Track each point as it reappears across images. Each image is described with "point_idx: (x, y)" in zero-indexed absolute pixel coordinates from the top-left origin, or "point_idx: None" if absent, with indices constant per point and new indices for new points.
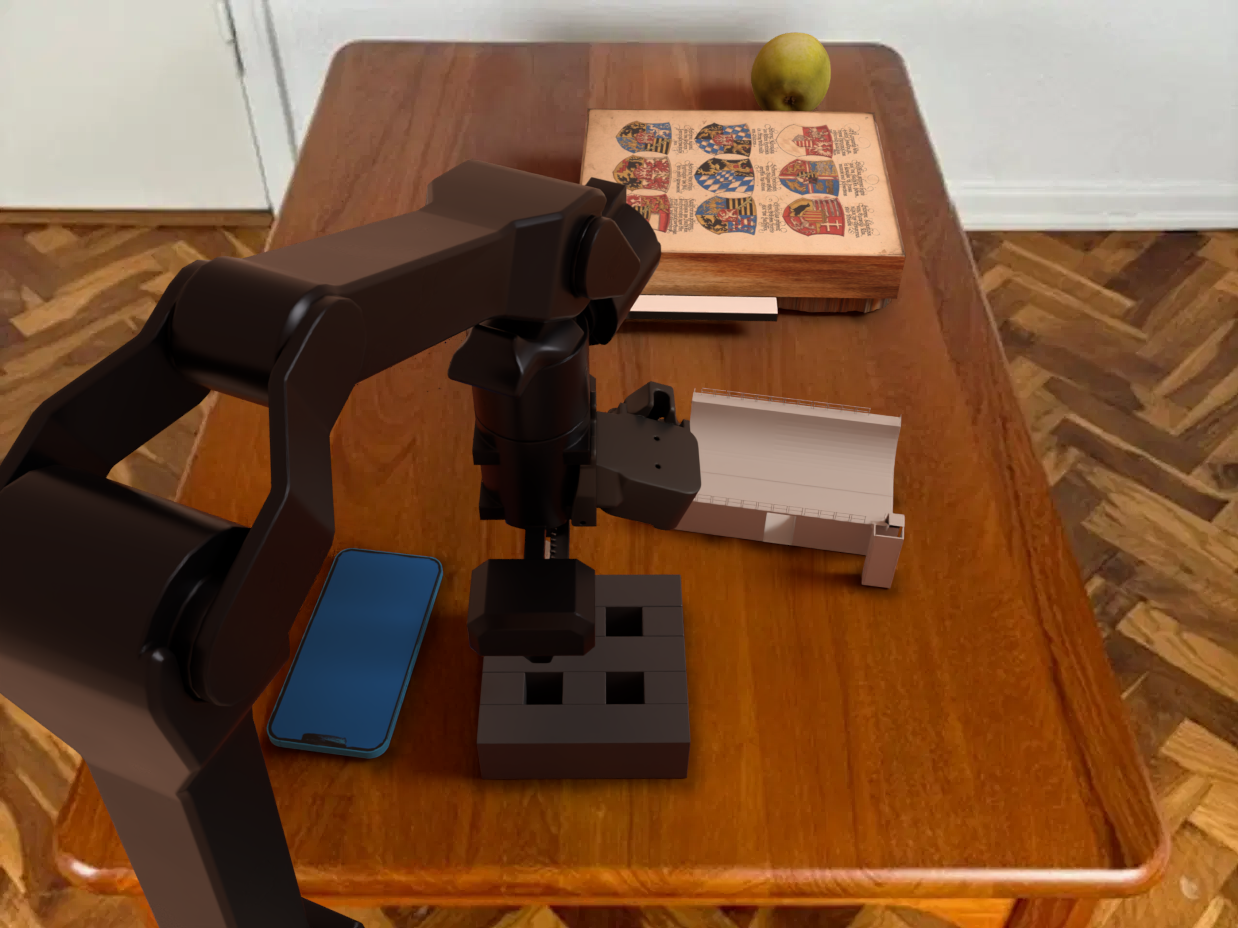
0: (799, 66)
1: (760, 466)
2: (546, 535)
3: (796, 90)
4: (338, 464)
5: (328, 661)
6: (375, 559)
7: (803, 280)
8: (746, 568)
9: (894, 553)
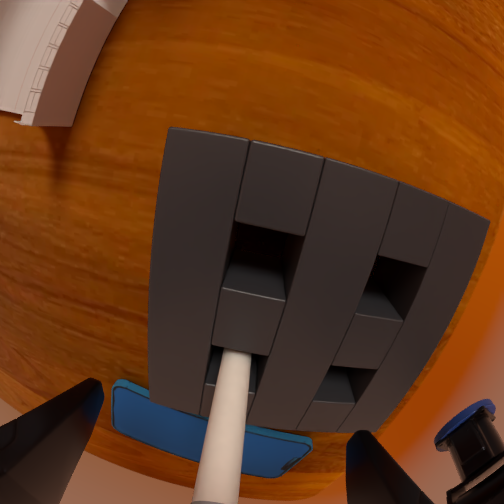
0: None
1: (34, 30)
2: (101, 393)
3: None
4: (45, 395)
5: None
6: (120, 417)
7: None
8: (149, 35)
9: None
